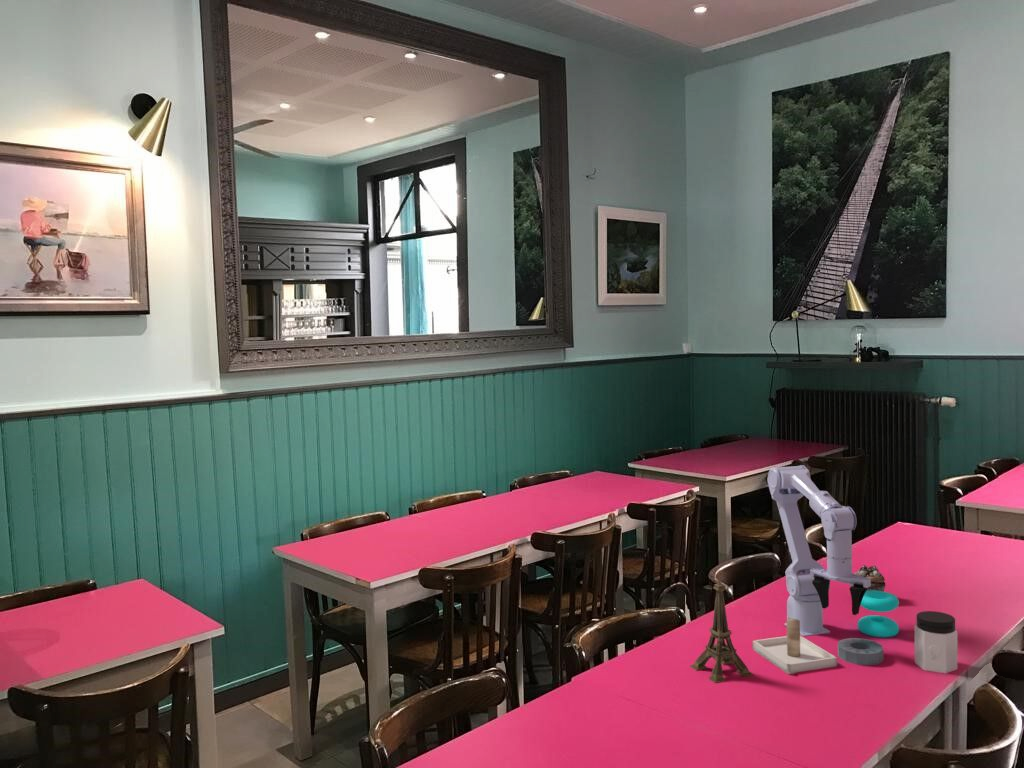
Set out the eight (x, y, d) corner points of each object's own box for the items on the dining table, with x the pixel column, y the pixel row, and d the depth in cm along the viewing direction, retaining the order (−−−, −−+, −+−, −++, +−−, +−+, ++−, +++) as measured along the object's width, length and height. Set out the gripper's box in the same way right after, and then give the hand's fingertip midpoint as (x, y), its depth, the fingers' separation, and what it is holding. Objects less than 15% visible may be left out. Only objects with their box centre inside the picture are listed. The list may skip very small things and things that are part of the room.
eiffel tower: (689, 666, 201) (687, 565, 199) (726, 659, 205) (724, 559, 203) (715, 683, 191) (713, 576, 189) (753, 675, 195) (751, 570, 193)
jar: (913, 670, 194) (913, 619, 194) (916, 657, 201) (915, 608, 201) (956, 676, 190) (956, 625, 189) (958, 663, 197) (957, 613, 196)
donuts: (853, 588, 224) (893, 589, 222) (854, 624, 224) (893, 626, 222) (861, 600, 214) (903, 601, 212) (861, 638, 215) (903, 640, 212)
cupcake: (878, 594, 248) (878, 561, 248) (890, 605, 239) (889, 570, 238) (845, 594, 249) (845, 561, 249) (855, 605, 240) (855, 570, 239)
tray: (752, 649, 210) (752, 640, 210) (798, 643, 213) (798, 634, 213) (788, 674, 194) (788, 664, 194) (837, 667, 197) (837, 657, 197)
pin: (784, 653, 205) (784, 619, 204) (796, 651, 205) (795, 618, 205) (791, 657, 202) (790, 623, 201) (802, 656, 202) (802, 622, 202)
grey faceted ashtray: (829, 652, 206) (829, 641, 206) (864, 647, 208) (864, 636, 208) (855, 668, 196) (855, 656, 196) (892, 662, 199) (892, 650, 198)
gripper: (803, 554, 207) (804, 608, 208) (861, 564, 197) (862, 621, 198) (817, 549, 212) (817, 601, 213) (874, 558, 202) (874, 613, 203)
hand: (840, 610), depth 206 cm, fingers open, 7 cm apart
